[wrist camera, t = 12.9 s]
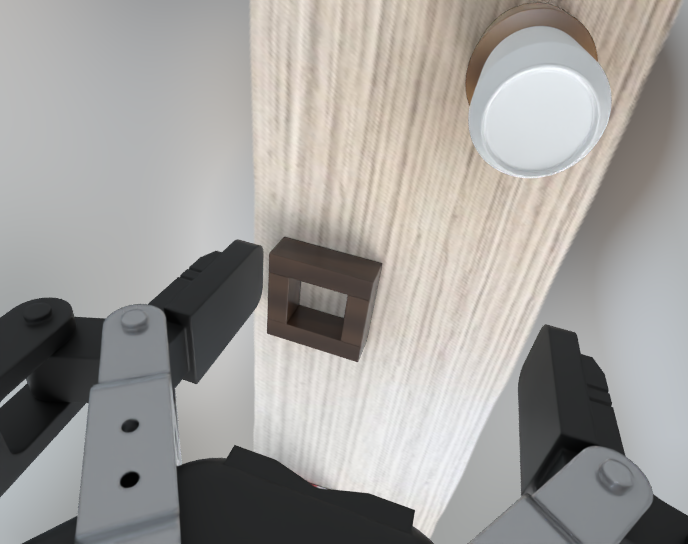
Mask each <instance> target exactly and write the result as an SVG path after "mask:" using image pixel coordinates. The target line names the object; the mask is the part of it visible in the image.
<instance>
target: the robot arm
mask: <svg viewBox="0 0 688 544" xmlns="http://www.w3.org/2000/svg"><path fill="white" fill-rule="evenodd" d="M262 288H263V248H262V246H260V245H256V244H253V243H249V242H245V241H242V240H235V241H234V242H233V243H232V244H230V245H229V246H228V247H227V248H226V249H225V250H224V251H223V252H218V251H215V252H212V253H210V254H207V255H205V256H203V257H200V258H199V259H198V260H197V261H196V262H195V263H194V264H193V265H191V266H190V267H189V270H188V269H187V270H186V271H185V272H183V273H182V274H181V276H180V278H179V277H178V278H177V279H176V280H174V281H173V282H172V283H171V284H170V285H169V286H168V287H167V288H166V289H164V290H163V291H162V292H161V293H160V294H159V295H158V296H157V297H155V298H154V299H153V300H152V301H151V302H150V303H149V304H148V305H147V304H134V305H129V306H125V307H122V308H120V309H118V310H116V311H114V312H113V313H111V314H110V315H109V316H108V317H107V318H106V319H103V318H86V317H74V314H73V310H72V307H71V305H70V304H69V303H68V302H66V301H64V300H62V299H58V298H39V299H34V300H31V301H27V302H25V303H22V304H20V305H18V306H16V307H15V308H13V309H12V310H10V311H9V312H8V313H6V314H5V315H3V316H2V317H1V318H0V402H1V401H2V400H3V399H4V398H5V397H6V396H7V394H9V393H10V392H11V391H12V390H13V389H15V388H16V387H17V386H18V385H19V384H20V383H21V382H22V381H23V380H25V379H26V380H27V384H26V385H25V386H24V387H23V388H22V389H21V390H20V391H19V392H17V393H16V394H15V395H14V396H13V397H12V398H11V399H10V400H9V401H7V402H6V403H5V404H4V405H3V406H2V407H1V408H0V497H1V496H2V495H3V494H4V493H5V492H6V490H7V489H8V488H9V487H10V486H11V485H12V484H13V483H14V482H15V481H16V480H17V478H18V477H19V476H20V475H21V474H22V473H23V472H24V471H25V470H26V468H27V467H28V466H29V465H30V464H31V463H32V462H33V461H34V460H35V459H36V458H37V456H38V455H39V454H40V453H41V452H42V451H43V450H44V449H45V448H46V447H47V445H48V444H49V443H50V442H51V441H52V440H53V439H54V438H55V437H56V436H57V435H58V433H59V432H60V431H61V430H62V429H63V428H64V427H65V426H66V425H67V424H68V422H69V421H70V420H71V419H72V418H73V417H74V416H75V415H76V414H77V412H79V410H80V409H81V408H82V407H83V406H84V405H85V404H86V403H89V406H88V416H87V426H86V436H85V446H84V456H83V466H82V477H81V486H80V497H79V506H78V516H76V517H74V518H72V519H70V520H68V521H66V522H64V523H62V524H60V525H58V526H56V527H54V528H52V529H50V530H48V531H46V532H44V533H42V534H40V535H38V536H36V537H34V538H32V539H30V540H28V541H26V542H24V543H22V544H434V543H433V542H432V541H431V540H430V539H429V538H427V537H426V536H425V535H424V534H423V533H422V532H420V531H419V530H418V529H416V528H415V527H413V526H412V525H413V519H414V513H415V510H413V509H410V508H408V507H405V506H402V505H399V504H396V503H394V502H391V501H388V500H385V499H383V498H380V497H377V496H374V495H372V494H369V493H360V492H350V491H340V490H330V489H321V488H317V487H315V486H313V485H312V484H310V483H309V482H307V481H306V480H304V479H303V478H302V477H300V476H299V475H297V474H296V473H294V472H293V471H291V470H290V469H289V468H287V467H286V466H284V465H283V464H281V463H280V462H278V461H277V460H275V459H272V458H269V457H266V456H263V455H261V454H258V453H255V452H252V451H250V450H247V449H244V448H241V447H239V446H236V445H234V447H233V449H232V450H231V452H230V454H229V456H228V457H227V458H208V459H201V460H196V461H192V462H188V463H185V464H182V460H181V449H180V438H179V426H178V415H177V403H176V393H175V388H176V386H177V385H178V384H179V383H180V381H181V380H182V379H183V380H186V381H189V382H192V383H194V384H197V383H198V382H199V381H200V380H201V378H202V377H203V376H204V374H205V373H206V372H207V371H208V369H209V368H210V367H211V365H212V364H213V363H214V362H215V360H216V359H217V358H218V356H219V355H220V354H221V353H222V351H223V350H224V349H225V347H226V346H227V345H228V343H229V342H230V341H231V340H232V338H233V337H234V336H235V334H236V333H237V332H238V331H239V329H240V328H241V327H242V325H243V324H244V323H245V321H246V320H247V319H248V318H249V316H250V315H251V314H252V312H253V311H254V310H255V309H256V307H257V305H258V303H259V301H260V298H261V295H262ZM518 400H519V401H518V402H519V432H520V433H519V436H520V466H521V468H520V469H521V496H522V497H521V498H520V499H518V500H517V501H516V502H515V503H514V504H513V505H512V506H510V507H509V508H508V509H507V510H506V511H505V512H503V513H502V514H501V515H500V516H499V517H498V518H496V519H495V520H494V521H493V522H492V523H491V524H490V525H489V526H487V527H486V528H485V529H484V530H483V531H482V532H480V533H479V534H478V535H477V536H476V537H475V538H474V539H472V540H471V541H470V542H469V543H468V544H688V516H687V515H686V514H684V513H682V512H681V511H679V510H677V509H675V508H674V507H672V506H670V505H668V504H667V503H665V502H664V501H662V500H660V499H659V498H658V497H656V496H655V495H654V494H653V491H652V487H651V485H650V483H649V481H648V479H647V477H646V476H645V475H644V473H643V472H642V471H641V470H640V469H639V467H638V466H637V465H636V464H634V463H633V462H632V461H631V460H630V459H628V458H627V457H626V456H625V453H624V449H623V445H622V442H621V437H620V433H619V429H618V426H617V421H616V417H615V413H614V410H613V407H611V405H612V402H611V398H610V394H609V393H608V386H607V382H606V378H605V374H604V373H603V371H602V370H601V369H600V367H599V366H598V364H597V363H596V362H595V360H594V359H593V358H592V357H589V356H586V355H582V354H581V353H580V348H579V344H578V338H577V335H576V333H575V332H572V331H568V330H564V329H560V328H556V327H553V326H550V325H544V326H543V327H542V328H541V330H540V332H539V334H538V336H537V338H536V340H535V342H534V344H533V346H532V348H531V350H530V352H529V354H528V356H527V359H526V360H525V363H524V365H523V367H522V370H521V373H520V377H519V383H518Z"/></svg>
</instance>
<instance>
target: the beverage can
mask: <svg viewBox="0 0 688 544" xmlns="http://www.w3.org/2000/svg"><path fill="white" fill-rule="evenodd" d="M610 112H611V89H610V85H609V82H608V79H607V76H606V74H605V72H604V70H603V69H602V67H601V66H600V65H599V63H598V62H597V61H596V60H595V59H594V58H593V57H592V56H591V55H590V54H589V53H588V52H587V51H586V50H585V49H584V48H583V47H582V46H581V45H580V44H578V43H577V42H576V41H575V40H574V39H573V38H572V37H571V36H569V35H568V34H567V33H565V32H563V31H561V30H559V29H556V28H553V27H548V26H533V27H528V28H524V29H521V30H519V31H517V32H515V33H513V34H511V35H509V36H508V37H506V38H505V39H504V40H502V41H501V42H500V43H499V44H498V45H497V46H496V47H495V48H494V50H493V51H492V52H491V54H490V55H489V57H488V58H487V60H486V62H485V64H484V67H483V69H482V72H481V74H480V77H479V80H478V83H477V85H476V88H475V91H474V94H473V97H472V100H471V103H470V108H469V119H468V121H469V131H470V135H471V139H472V141H473V144H474V146H475V148H476V150H477V151H478V153H479V154H480V155H481V157H482V158H483V159H484V160H485V161H486V162H487V163H488V164H489V165H491V166H492V167H493V168H495V169H497V170H498V171H500V172H503V173H505V174H508V175H511V176H515V177H521V178H539V177H545V176H550V175H553V174H556V173H559V172H561V171H563V170H565V169H567V168H569V167H571V166H573V165H574V164H576V163H577V162H579V161H580V160H581V159H582V158H584V157H585V156H586V155H587V154H588V153H589V152H590V151H591V150H592V149H593V147H594V146H595V145H596V144H597V142H598V141H599V139H600V138H601V136H602V134H603V132H604V130H605V128H606V126H607V123H608V120H609V116H610Z"/></svg>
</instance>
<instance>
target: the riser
mask: <svg viewBox="0 0 688 544" xmlns="http://www.w3.org/2000/svg"><path fill="white" fill-rule="evenodd" d="M533 26H548V27H553V28H556V29H559V30H561V31H563V32H565V33H567V34H568V35H569V36H571V37H572V38H573V39H574V40H575V41H576V42H577V43H578V44H580V45H581V46H582V47H583V48H584V49H585V50H586V51H587V52H588V53H589V54H590V55H591V56H592V57H593V58H594V59H595V60H596V61H597V62H598V59H597V52H596V47H595V44H594V41H593V39H592V37H591V35H590V33H589V31H588V30H587V29H586V28H585V26H584V25H583V24H582V23H581V22H580V21H578V20H577V19H576V18H574V17H573V16H571V15H570V14H568V13H566V12H565V11H563V10H561V9H560V8H558V7H555V6H553V5H550V4H546V3H528V4H523V5H520V6H517V7H514V8H512V9H510V10H508V11H507V12H505V13H503V14H502V15H501V16H499V17H498V18H497V19H496V20H495V21H494V22H493V23H492V24H491V25H490V26H489V27H488V28H487V30H486V31H485V33H484V34H483V36H482V37H481V39H480V41H479V43H478V44H477V46H476V48H475V50H474V52H473V54H472V56H471V58H470V61H469V64H468V68H467V73H466V82H465V84H466V95H467V99H468V103H469V106H470V103H471V100H472V97H473V94H474V91H475V88H476V85H477V83H478V80H479V77H480V74H481V72H482V69H483V67H484V64H485V62H486V60H487V58H488V57H489V55H490V54H491V52H492V51H493V50H494V48H495V47H496V46H497V45H498V44H499V43H500V42H501V41H502V40H504V39H505V38H506V37H508V36H509V35H511V34H513V33H515V32H517V31H519V30H521V29H524V28H528V27H533Z"/></svg>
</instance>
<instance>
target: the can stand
mask: <svg viewBox="0 0 688 544" xmlns="http://www.w3.org/2000/svg"><path fill="white" fill-rule="evenodd" d="M381 268H382V263H378V262H375V261H371V260H367V259H364V258H360V257H356V256H353V255H349V254H345V253H342V252H338V251H334V250H331V249H327V248H323V247H320V246H316V245H312V244H309V243H305V242H301V241H298V240H294V239H290V238H287V237H284V238H283V239H282V240H281V241H280V242H279V243H278V244H277V245H276V247H275V248H274V249H273V250H272V251H271V252H270V253H269V283H268V317H267V334H270V335H274V336H277V337H280V338H283V339H286V340H289V341H292V342H296V343H299V344H302V345H305V346H308V347H311V348H315V349H318V350H321V351H324V352H327V353H330V354H333V355H337V356H340V357H343V358H346V359H349V360H352V361H356V362H358V361H359V359H360V356H361V354H362V352H363V349H364V347H365V344H366V342H367V338H368V333H369V328H370V323H371V318H372V313H373V308H374V303H375V298H376V293H377V288H378V283H379V278H380V273H381ZM301 281H302V282H306V283H309V284H313V285H316V286H320V287H323V288H327V289H330V290H333V291H337V292H340V293H344V294H347V295H348V297H347V304H346V310H345V317H344V319H343V318H340V317H337V316H333V315H330V314H327V313H323V312H320V311H317V310H314V309H310V308H307V307H304V306H300V305H299V298H300V286H301Z"/></svg>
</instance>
